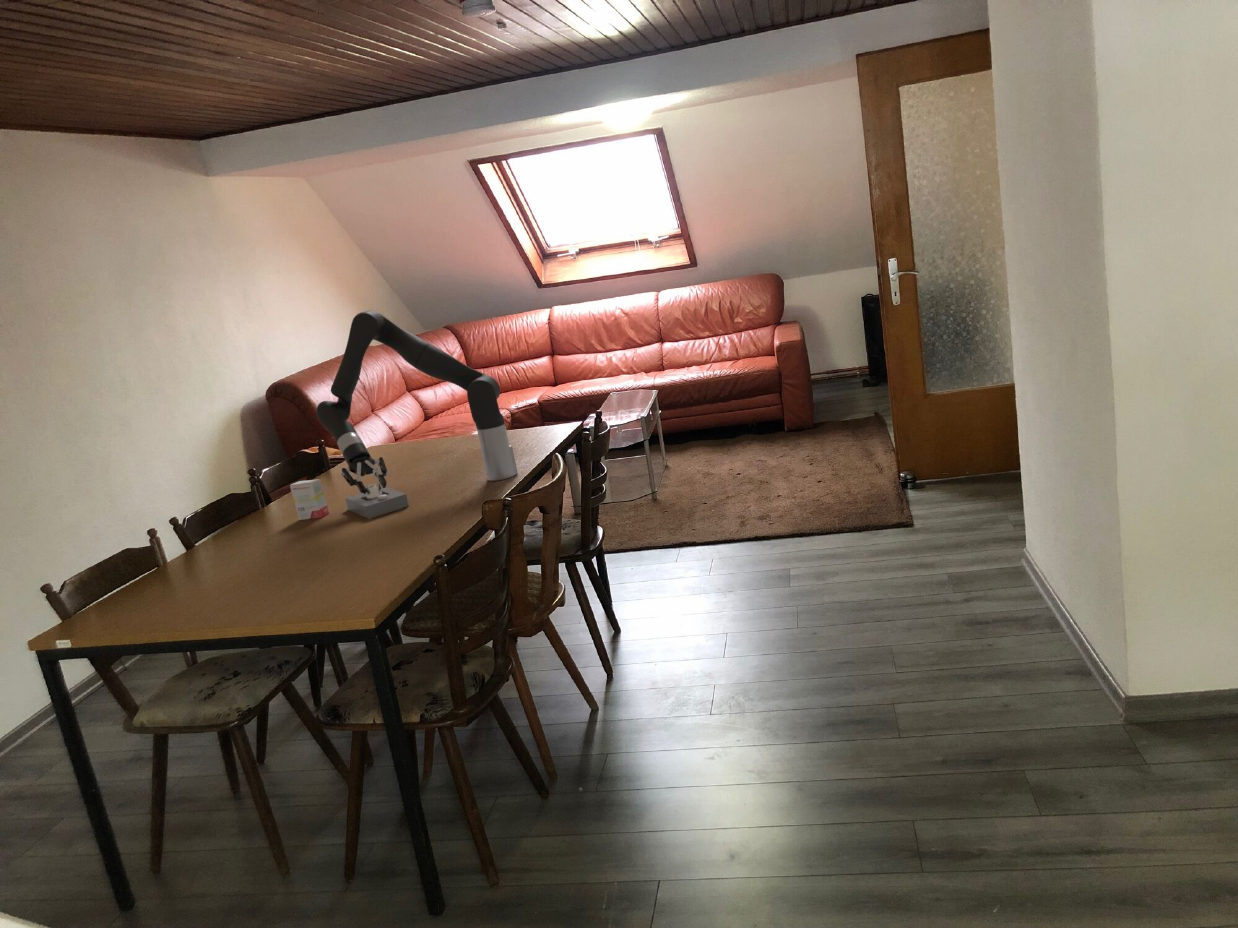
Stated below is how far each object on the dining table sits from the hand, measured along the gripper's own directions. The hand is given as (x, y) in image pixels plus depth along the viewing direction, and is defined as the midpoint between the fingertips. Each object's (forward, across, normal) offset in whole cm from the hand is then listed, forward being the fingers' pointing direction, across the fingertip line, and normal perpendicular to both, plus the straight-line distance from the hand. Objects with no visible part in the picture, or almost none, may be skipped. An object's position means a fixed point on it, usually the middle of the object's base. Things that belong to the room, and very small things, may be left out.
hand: (375, 489), depth 298 cm
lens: (+3, 0, +6) cm, 7 cm away
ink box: (-7, -16, +17) cm, 24 cm away
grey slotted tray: (+3, 0, +6) cm, 7 cm away
